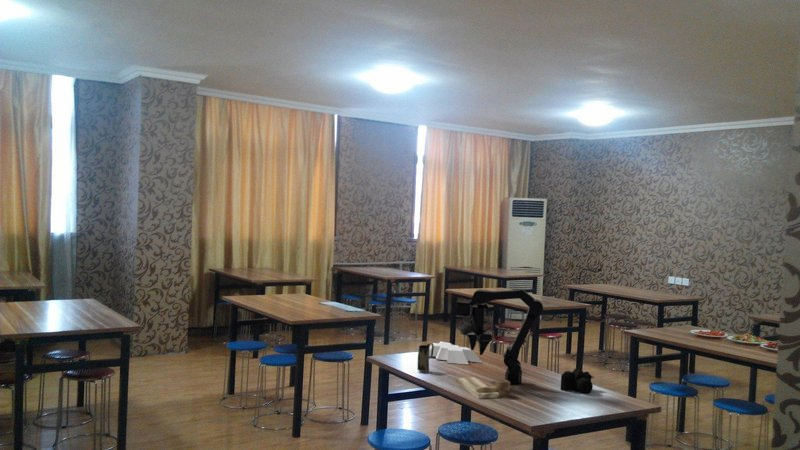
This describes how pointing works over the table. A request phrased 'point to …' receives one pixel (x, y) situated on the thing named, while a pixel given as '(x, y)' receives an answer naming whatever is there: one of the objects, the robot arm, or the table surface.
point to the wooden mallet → (498, 388)
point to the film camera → (576, 381)
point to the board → (471, 385)
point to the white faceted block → (453, 353)
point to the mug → (424, 357)
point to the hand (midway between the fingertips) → (476, 352)
